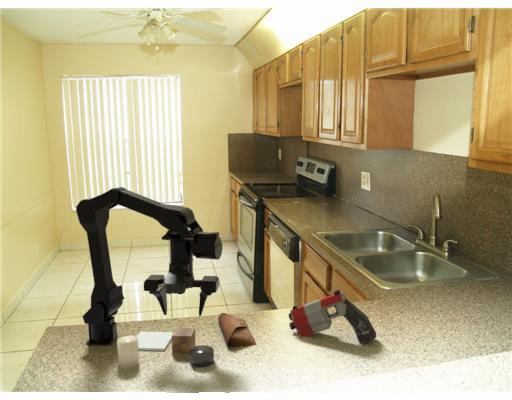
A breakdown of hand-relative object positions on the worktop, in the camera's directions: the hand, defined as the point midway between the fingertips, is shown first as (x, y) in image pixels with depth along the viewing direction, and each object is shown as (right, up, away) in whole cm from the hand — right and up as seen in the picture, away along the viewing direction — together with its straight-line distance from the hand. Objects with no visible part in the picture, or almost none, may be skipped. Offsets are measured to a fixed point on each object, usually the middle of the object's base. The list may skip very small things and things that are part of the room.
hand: (182, 315), depth 117 cm
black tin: (+6, -10, -5) cm, 13 cm away
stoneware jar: (-13, -10, -6) cm, 17 cm away
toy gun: (+40, -9, +9) cm, 42 cm away
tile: (-10, -9, +6) cm, 14 cm away
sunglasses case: (+14, -9, +11) cm, 20 cm away
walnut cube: (0, -10, +1) cm, 10 cm away
